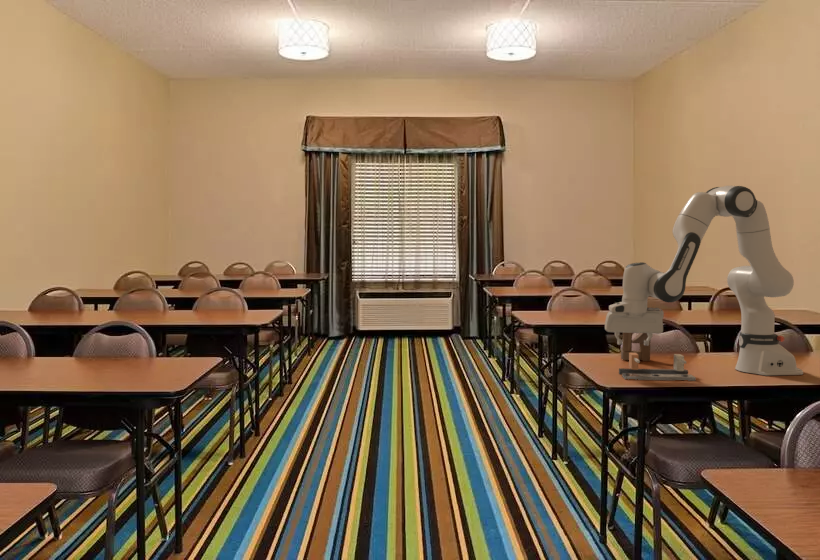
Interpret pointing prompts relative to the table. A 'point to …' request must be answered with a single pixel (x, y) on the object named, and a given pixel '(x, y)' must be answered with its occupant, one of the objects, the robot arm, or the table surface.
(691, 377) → the hole strip
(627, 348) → the brown angular bracket
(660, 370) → the rail
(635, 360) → the block
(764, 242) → the robot arm
